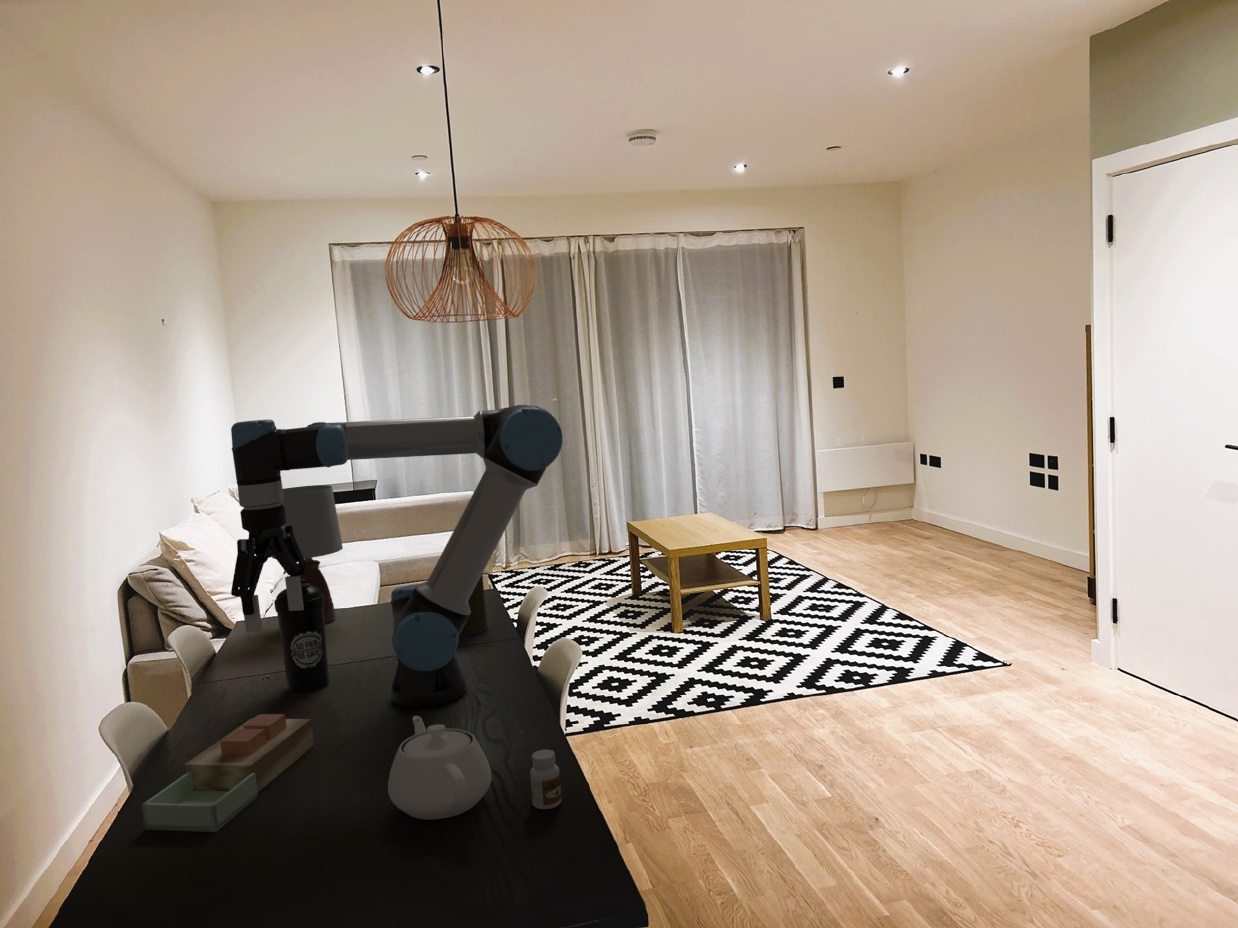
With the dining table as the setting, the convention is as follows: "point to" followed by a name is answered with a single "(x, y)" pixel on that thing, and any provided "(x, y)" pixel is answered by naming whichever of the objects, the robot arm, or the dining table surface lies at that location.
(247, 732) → the tile
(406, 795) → the teapot
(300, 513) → the lamp
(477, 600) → the canister
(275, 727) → the tile
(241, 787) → the tray
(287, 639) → the water bottle
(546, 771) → the pill bottle
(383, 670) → the dining table surface
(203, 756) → the long beige platform
